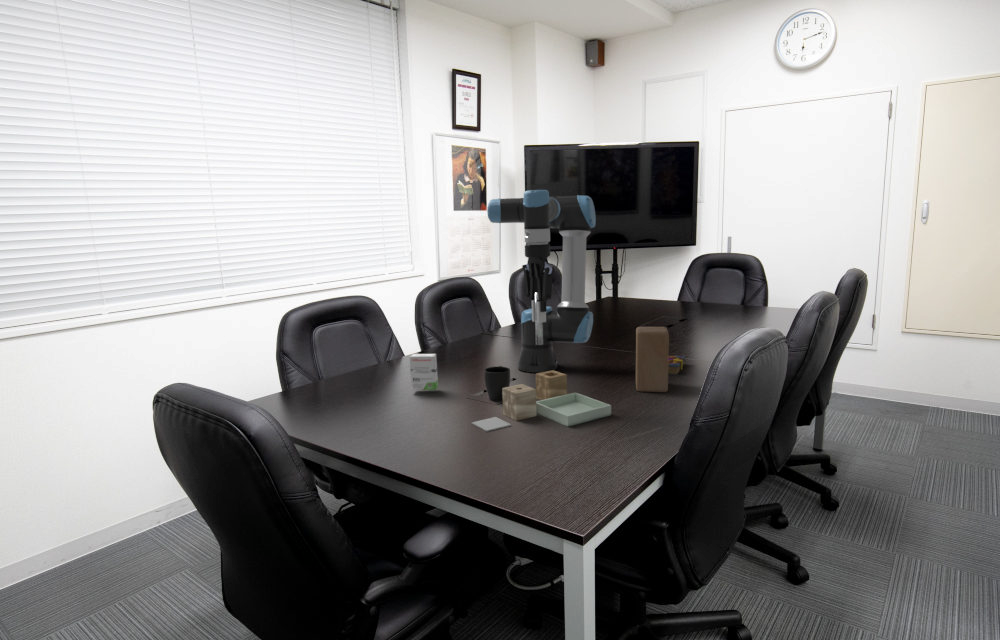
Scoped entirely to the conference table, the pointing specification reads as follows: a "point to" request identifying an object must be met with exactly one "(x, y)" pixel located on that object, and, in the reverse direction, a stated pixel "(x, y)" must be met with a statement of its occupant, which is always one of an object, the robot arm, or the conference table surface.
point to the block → (652, 359)
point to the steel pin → (538, 324)
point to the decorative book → (675, 364)
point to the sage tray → (572, 409)
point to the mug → (496, 381)
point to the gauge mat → (491, 424)
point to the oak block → (550, 384)
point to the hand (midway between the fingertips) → (539, 321)
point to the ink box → (423, 372)
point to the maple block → (519, 402)
